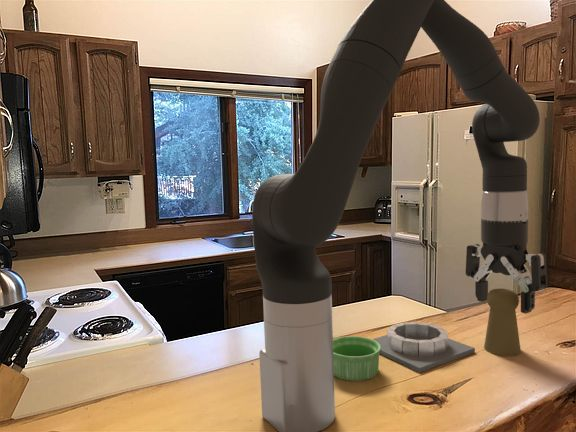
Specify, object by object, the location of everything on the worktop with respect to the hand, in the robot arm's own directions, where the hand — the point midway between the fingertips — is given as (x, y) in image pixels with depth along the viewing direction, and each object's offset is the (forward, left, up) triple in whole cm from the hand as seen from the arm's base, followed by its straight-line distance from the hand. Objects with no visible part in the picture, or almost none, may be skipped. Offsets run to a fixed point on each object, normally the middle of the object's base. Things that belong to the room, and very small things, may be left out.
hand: (503, 306), depth 83 cm
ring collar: (-12, +9, -8) cm, 17 cm away
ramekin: (-27, +9, -8) cm, 30 cm away
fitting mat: (-12, +9, -8) cm, 17 cm away
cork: (0, 0, -8) cm, 8 cm away
